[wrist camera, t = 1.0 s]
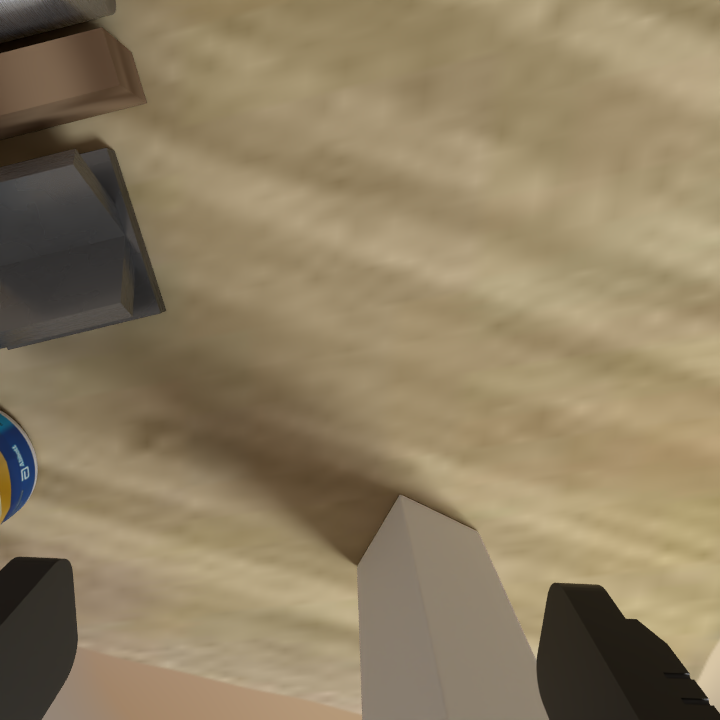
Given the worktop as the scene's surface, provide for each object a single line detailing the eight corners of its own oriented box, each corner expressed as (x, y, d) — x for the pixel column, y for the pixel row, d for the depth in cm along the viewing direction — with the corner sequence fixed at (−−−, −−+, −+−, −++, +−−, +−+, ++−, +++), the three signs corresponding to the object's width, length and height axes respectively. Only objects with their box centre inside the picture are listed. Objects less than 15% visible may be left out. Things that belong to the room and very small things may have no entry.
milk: (399, 492, 34) (491, 920, 13) (480, 531, 35) (695, 997, 13) (355, 567, 35) (370, 1078, 14) (434, 603, 36) (565, 1140, 15)
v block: (114, 150, 29) (74, 136, 25) (166, 310, 31) (137, 322, 27) (-44, 190, 29) (-110, 182, 25) (18, 346, 31) (-34, 363, 27)
